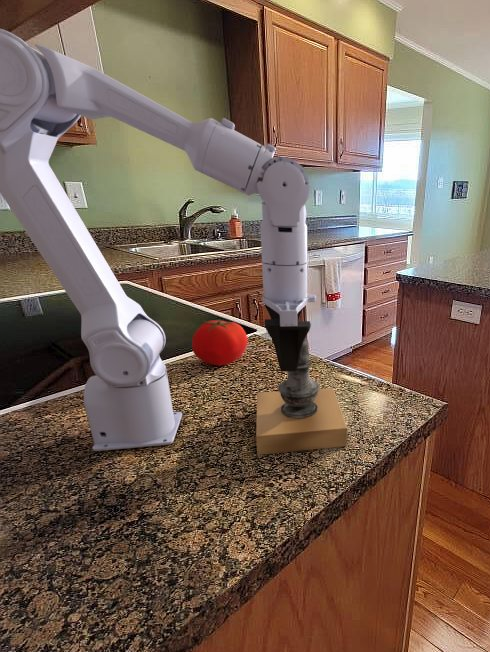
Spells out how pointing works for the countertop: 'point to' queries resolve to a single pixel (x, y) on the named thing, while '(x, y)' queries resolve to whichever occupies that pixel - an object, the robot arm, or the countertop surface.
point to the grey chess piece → (299, 389)
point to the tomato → (219, 342)
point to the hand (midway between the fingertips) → (287, 359)
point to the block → (299, 425)
